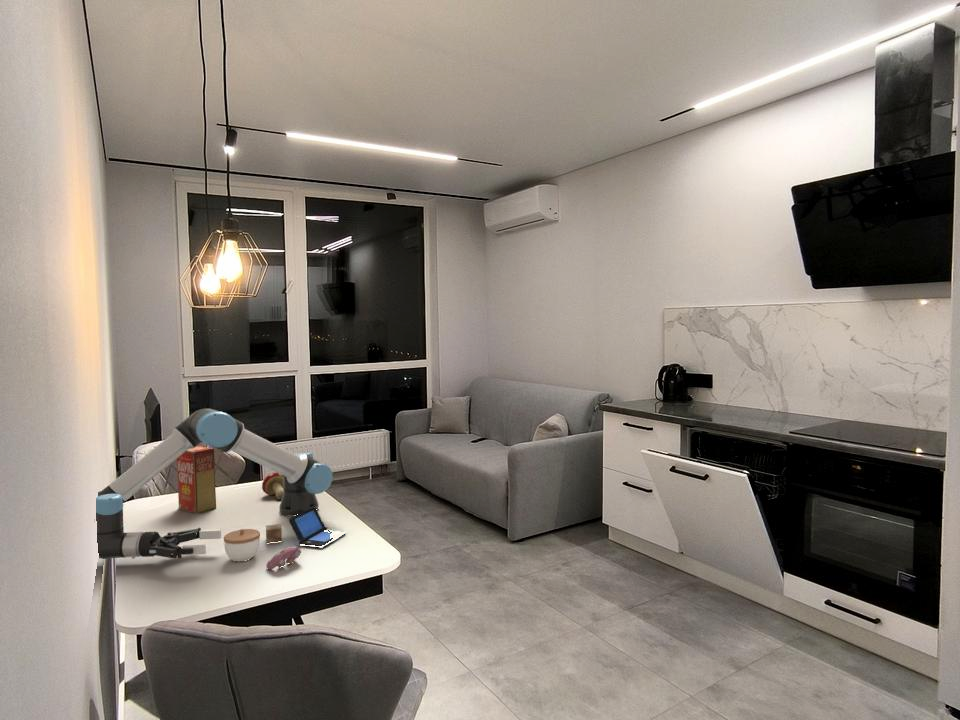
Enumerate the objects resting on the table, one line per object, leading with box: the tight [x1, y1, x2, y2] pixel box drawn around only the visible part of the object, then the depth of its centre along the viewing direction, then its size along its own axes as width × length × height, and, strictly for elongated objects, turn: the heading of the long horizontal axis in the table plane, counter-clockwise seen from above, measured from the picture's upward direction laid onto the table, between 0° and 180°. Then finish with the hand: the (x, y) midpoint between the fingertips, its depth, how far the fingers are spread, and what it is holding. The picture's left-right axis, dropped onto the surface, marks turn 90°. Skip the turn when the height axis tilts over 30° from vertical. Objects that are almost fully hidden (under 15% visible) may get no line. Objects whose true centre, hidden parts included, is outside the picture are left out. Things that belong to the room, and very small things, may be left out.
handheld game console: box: [288, 508, 333, 546], centre depth 203 cm, size 16×13×9 cm
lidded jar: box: [223, 528, 261, 563], centre depth 186 cm, size 11×11×9 cm
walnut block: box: [265, 523, 283, 543], centre depth 202 cm, size 5×5×5 cm
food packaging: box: [176, 445, 217, 514], centre depth 240 cm, size 13×9×25 cm
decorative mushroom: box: [261, 472, 284, 500], centre depth 257 cm, size 11×11×15 cm
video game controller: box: [266, 545, 302, 570], centre depth 180 cm, size 10×5×7 cm, turn 149°
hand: (213, 541), depth 185 cm, fingers open, 13 cm apart
